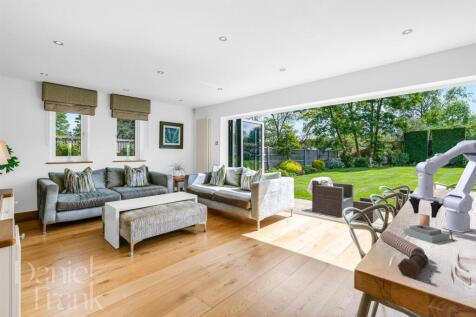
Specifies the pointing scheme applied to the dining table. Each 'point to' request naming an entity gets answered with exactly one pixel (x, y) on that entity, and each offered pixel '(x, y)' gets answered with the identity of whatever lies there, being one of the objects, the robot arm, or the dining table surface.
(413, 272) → the bolt
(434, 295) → the dining table surface
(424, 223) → the peg
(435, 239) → the socket board
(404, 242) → the coil
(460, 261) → the dining table surface
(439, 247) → the dining table surface
